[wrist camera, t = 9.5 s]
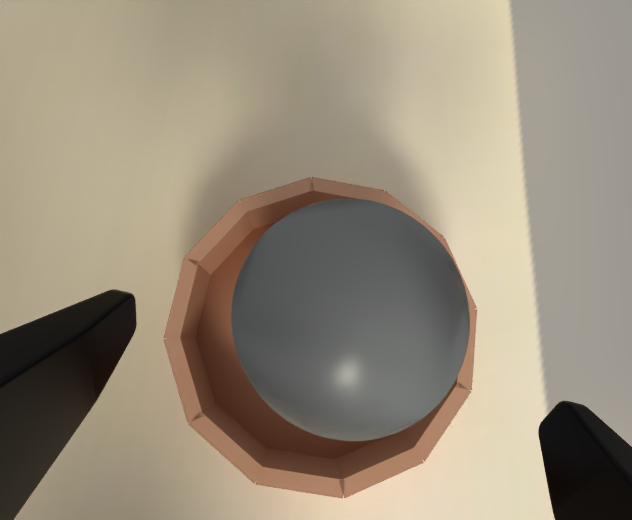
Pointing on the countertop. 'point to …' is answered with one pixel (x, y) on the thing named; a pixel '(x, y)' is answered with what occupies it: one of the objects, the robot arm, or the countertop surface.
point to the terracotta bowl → (237, 392)
